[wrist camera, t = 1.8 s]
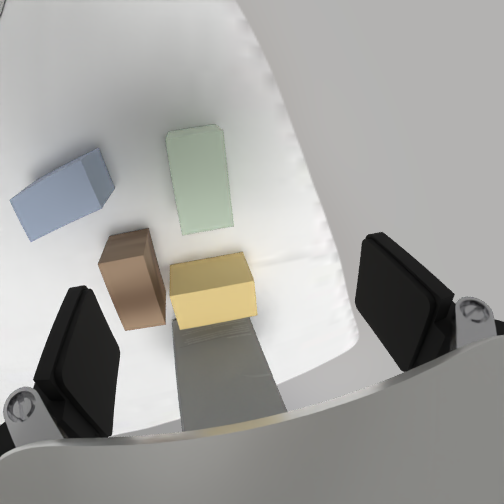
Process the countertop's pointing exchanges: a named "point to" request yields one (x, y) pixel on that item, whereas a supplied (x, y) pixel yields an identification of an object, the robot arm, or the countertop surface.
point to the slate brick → (63, 195)
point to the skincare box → (222, 375)
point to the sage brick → (200, 178)
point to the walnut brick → (134, 279)
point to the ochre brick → (212, 290)
